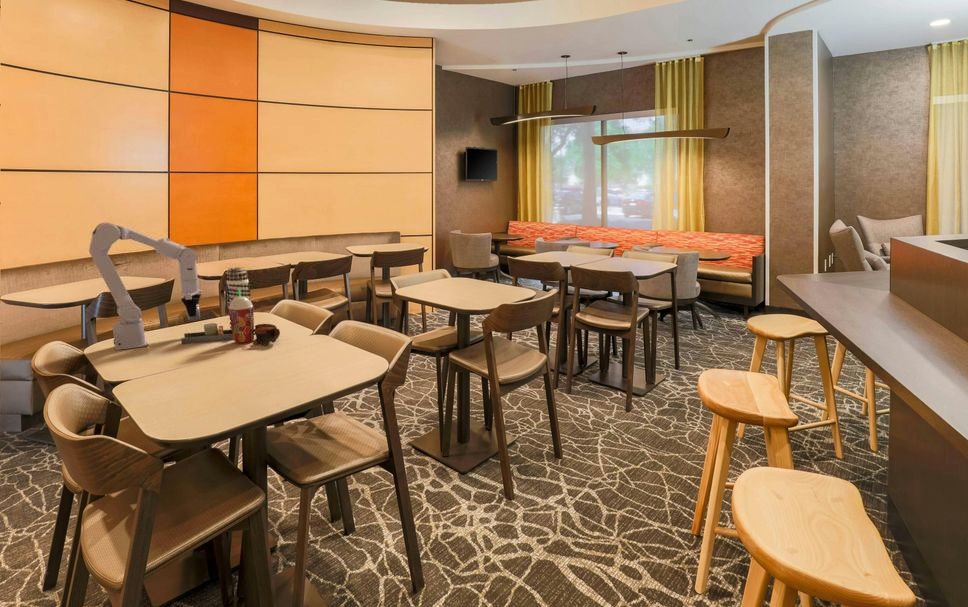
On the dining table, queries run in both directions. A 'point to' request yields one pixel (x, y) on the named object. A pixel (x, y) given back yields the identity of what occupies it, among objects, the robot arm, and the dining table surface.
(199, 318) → the jar
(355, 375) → the dining table surface
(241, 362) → the dining table surface
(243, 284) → the black white checkered cylinder
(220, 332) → the block
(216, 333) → the jar
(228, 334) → the lane
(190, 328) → the dining table surface
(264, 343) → the pottery mug
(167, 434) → the dining table surface
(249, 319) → the smoothie
